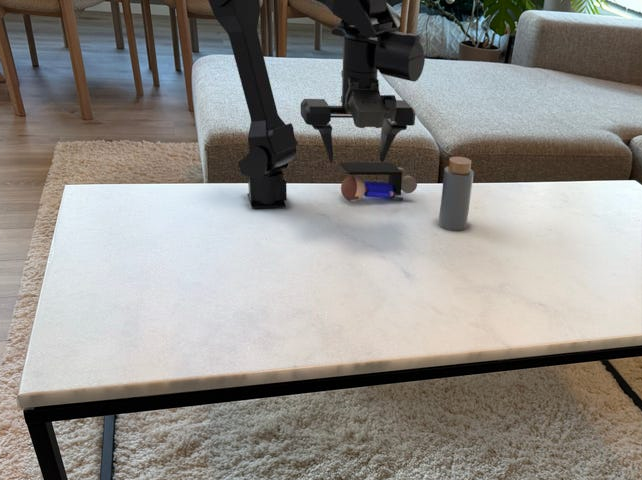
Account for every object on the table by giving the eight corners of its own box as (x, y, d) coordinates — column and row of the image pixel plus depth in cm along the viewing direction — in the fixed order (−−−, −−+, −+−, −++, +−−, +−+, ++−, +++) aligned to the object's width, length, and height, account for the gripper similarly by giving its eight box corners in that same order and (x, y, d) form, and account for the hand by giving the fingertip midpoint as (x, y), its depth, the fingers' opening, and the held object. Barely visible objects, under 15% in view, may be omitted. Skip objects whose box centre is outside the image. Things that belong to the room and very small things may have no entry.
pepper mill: (451, 233, 133) (460, 167, 126) (432, 222, 136) (439, 157, 129) (472, 227, 136) (481, 162, 129) (453, 216, 140) (461, 153, 132)
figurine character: (401, 196, 149) (334, 193, 142) (407, 162, 145) (339, 157, 138) (413, 208, 144) (345, 206, 137) (420, 173, 140) (350, 169, 133)
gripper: (313, 80, 104) (313, 180, 113) (429, 83, 110) (420, 177, 119) (299, 62, 112) (300, 156, 121) (408, 66, 119) (401, 155, 128)
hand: (356, 161), depth 122 cm, fingers open, 9 cm apart
